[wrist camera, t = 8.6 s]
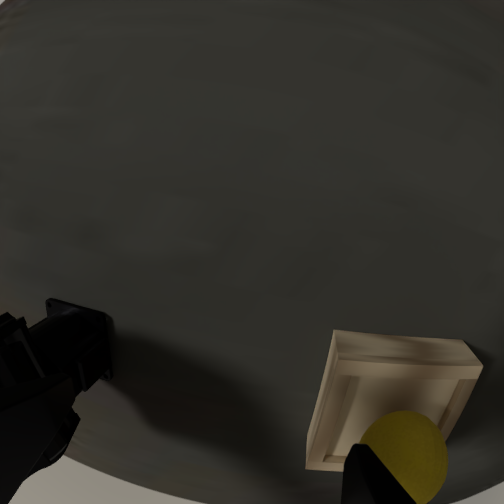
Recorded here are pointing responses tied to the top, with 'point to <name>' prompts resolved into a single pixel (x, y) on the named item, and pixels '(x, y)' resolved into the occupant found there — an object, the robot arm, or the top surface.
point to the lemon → (410, 452)
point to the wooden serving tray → (386, 388)
